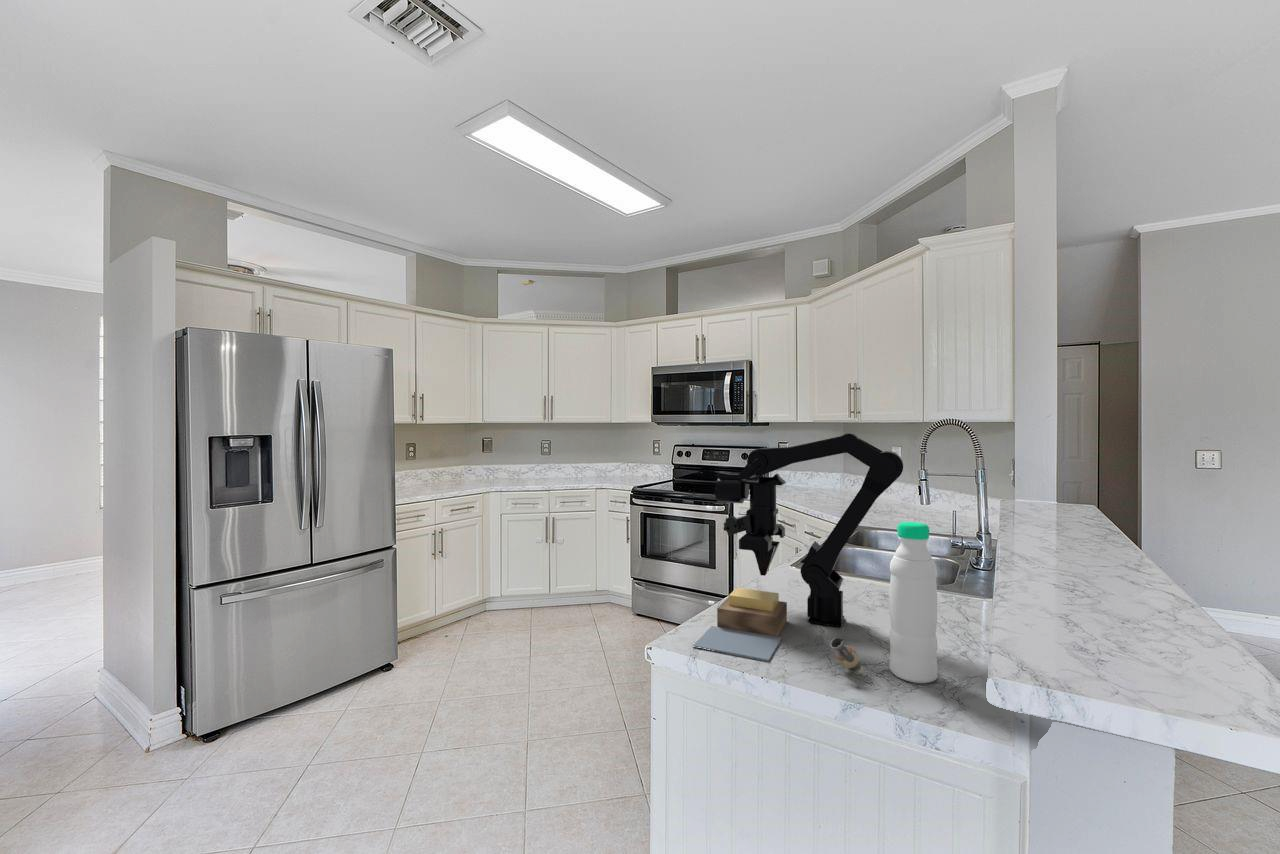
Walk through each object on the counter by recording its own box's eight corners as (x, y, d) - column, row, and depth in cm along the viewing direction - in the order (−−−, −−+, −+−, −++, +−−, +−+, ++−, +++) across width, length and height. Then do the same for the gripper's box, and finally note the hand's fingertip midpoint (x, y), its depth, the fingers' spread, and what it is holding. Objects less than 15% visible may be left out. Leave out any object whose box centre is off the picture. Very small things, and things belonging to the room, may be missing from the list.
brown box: (786, 621, 114) (786, 602, 114) (776, 637, 105) (776, 617, 105) (731, 612, 119) (731, 594, 119) (717, 627, 110) (717, 608, 110)
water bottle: (881, 666, 93) (881, 520, 93) (920, 664, 93) (920, 519, 93) (904, 685, 86) (904, 527, 86) (947, 684, 86) (947, 527, 86)
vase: (841, 682, 87) (838, 644, 87) (823, 670, 92) (821, 634, 93) (871, 679, 88) (868, 641, 88) (852, 667, 93) (849, 631, 94)
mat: (781, 639, 104) (781, 637, 104) (768, 661, 94) (768, 659, 94) (711, 627, 110) (711, 625, 110) (692, 647, 100) (692, 645, 100)
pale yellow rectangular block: (778, 602, 114) (778, 593, 114) (772, 611, 108) (772, 601, 108) (736, 596, 118) (736, 587, 118) (728, 604, 112) (728, 595, 112)
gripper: (738, 497, 132) (739, 562, 132) (714, 508, 115) (715, 581, 115) (785, 500, 127) (785, 566, 127) (767, 511, 110) (767, 588, 110)
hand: (763, 575), depth 120 cm, fingers closed
